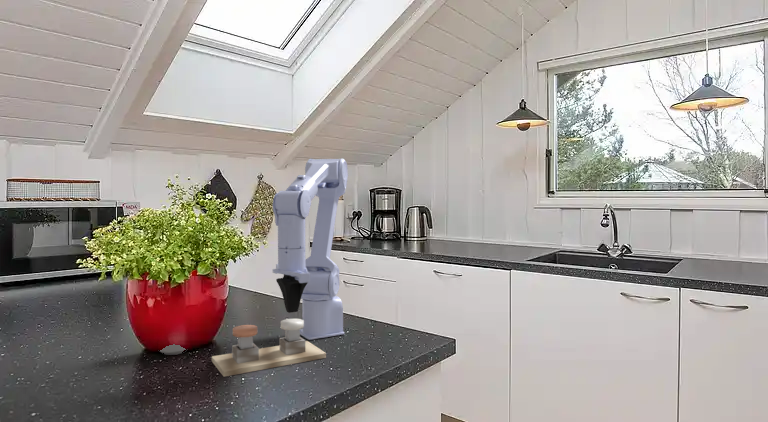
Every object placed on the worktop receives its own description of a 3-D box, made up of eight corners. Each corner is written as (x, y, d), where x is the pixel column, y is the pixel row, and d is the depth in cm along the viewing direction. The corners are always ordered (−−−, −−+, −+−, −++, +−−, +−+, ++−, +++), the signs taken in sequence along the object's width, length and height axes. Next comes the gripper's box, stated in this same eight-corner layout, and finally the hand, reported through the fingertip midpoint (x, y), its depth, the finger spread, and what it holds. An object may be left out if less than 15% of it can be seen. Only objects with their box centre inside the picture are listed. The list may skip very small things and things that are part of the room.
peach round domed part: (253, 341, 106) (253, 323, 105) (260, 347, 101) (260, 329, 101) (230, 345, 103) (229, 326, 103) (236, 351, 99) (236, 332, 99)
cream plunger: (298, 334, 111) (298, 317, 111) (307, 340, 107) (307, 322, 106) (277, 338, 108) (277, 320, 108) (285, 343, 104) (285, 325, 104)
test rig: (307, 345, 115) (307, 329, 114) (326, 357, 106) (325, 341, 106) (211, 361, 104) (211, 344, 104) (223, 376, 95) (223, 358, 95)
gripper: (262, 245, 111) (262, 306, 111) (285, 252, 98) (286, 321, 99) (293, 243, 114) (293, 303, 115) (319, 250, 102) (319, 317, 102)
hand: (292, 311), depth 107 cm, fingers closed
